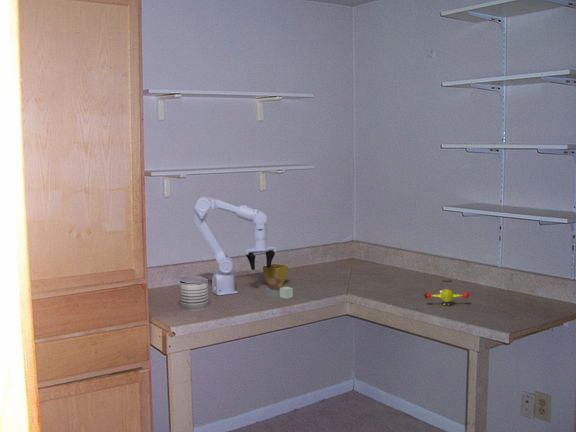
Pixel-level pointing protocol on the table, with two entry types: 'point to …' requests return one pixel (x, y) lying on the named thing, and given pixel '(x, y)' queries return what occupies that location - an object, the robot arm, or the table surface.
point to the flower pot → (275, 272)
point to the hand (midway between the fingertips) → (260, 268)
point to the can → (193, 293)
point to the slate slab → (272, 292)
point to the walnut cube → (275, 283)
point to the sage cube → (286, 292)
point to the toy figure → (446, 295)
